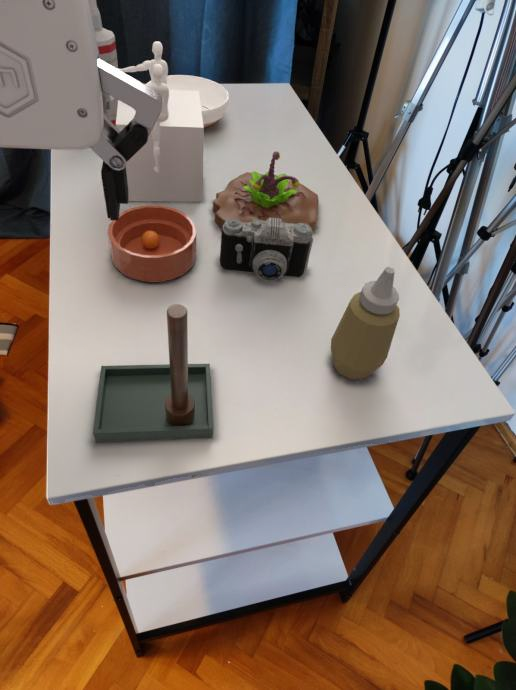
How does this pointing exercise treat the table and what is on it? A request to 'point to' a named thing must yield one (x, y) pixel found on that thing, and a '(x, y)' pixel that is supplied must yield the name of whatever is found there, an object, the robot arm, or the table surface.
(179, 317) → the brown wooden rod
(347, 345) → the squeeze bottle
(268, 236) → the camera
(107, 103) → the spray bottle
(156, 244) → the ball
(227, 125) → the table surface
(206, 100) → the bowl
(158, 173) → the white figure sculpture
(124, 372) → the spoon tray
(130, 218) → the copper shallow cylinder
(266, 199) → the plant
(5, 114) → the robot arm
